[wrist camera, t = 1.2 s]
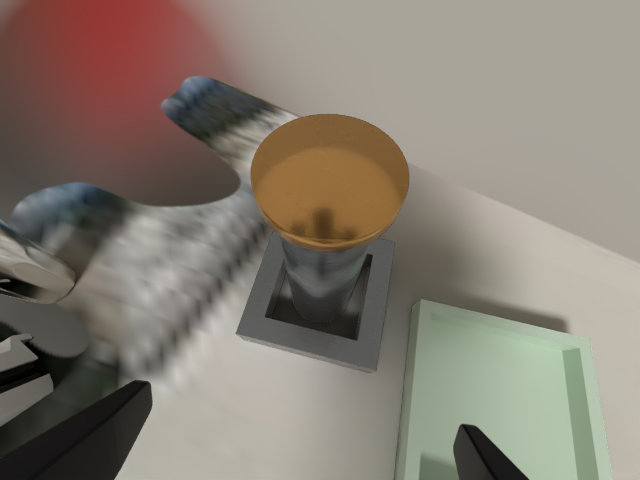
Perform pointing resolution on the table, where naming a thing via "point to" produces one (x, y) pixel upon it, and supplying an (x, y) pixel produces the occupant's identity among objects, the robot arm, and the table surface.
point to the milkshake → (31, 269)
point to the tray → (499, 396)
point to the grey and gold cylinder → (327, 203)
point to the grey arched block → (9, 364)
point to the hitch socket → (313, 342)
